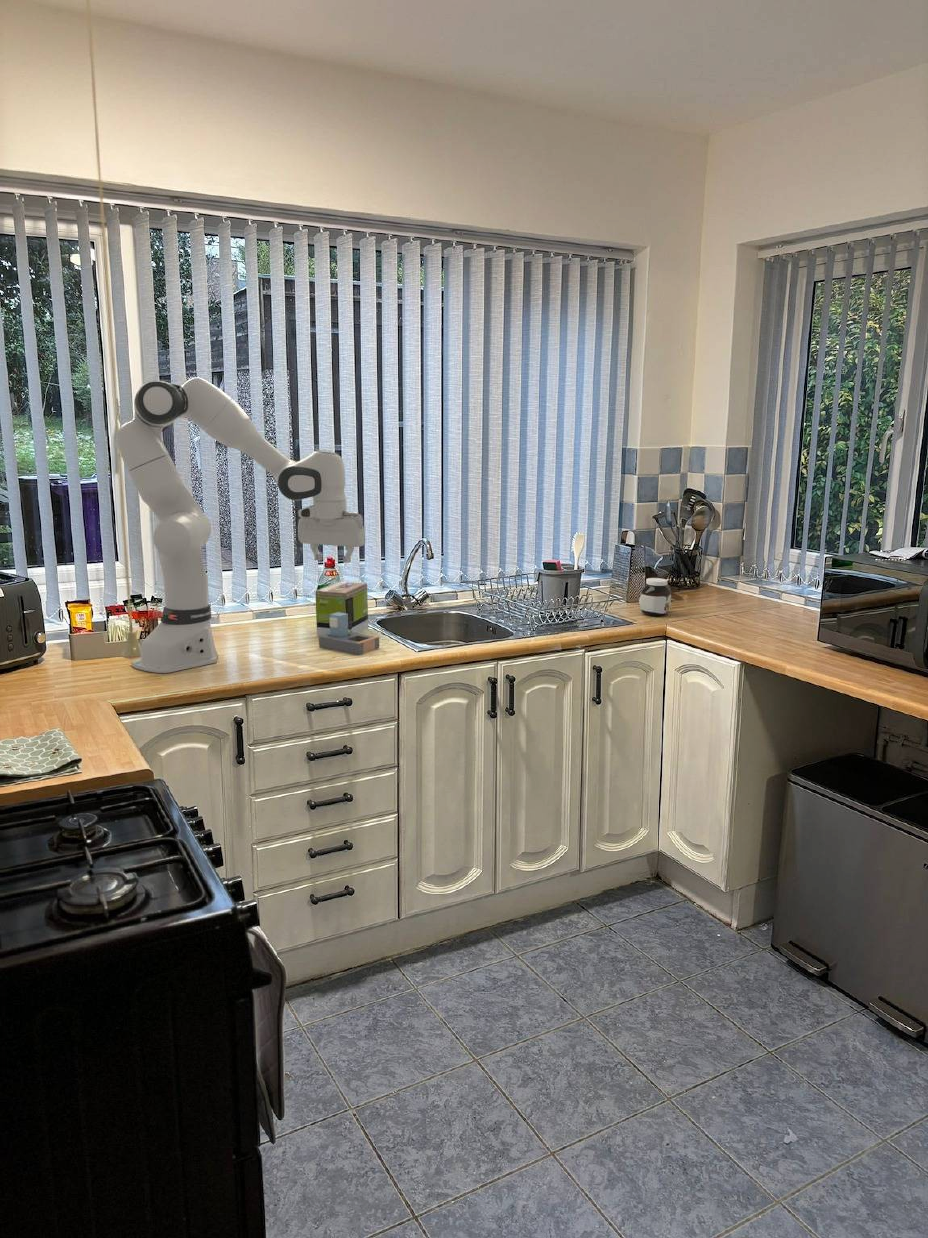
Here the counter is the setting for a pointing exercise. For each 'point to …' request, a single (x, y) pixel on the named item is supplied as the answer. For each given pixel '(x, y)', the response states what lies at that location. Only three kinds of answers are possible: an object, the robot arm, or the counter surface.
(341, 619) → the plug peg
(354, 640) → the socket block
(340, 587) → the tea box
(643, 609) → the spread jar
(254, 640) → the counter surface
